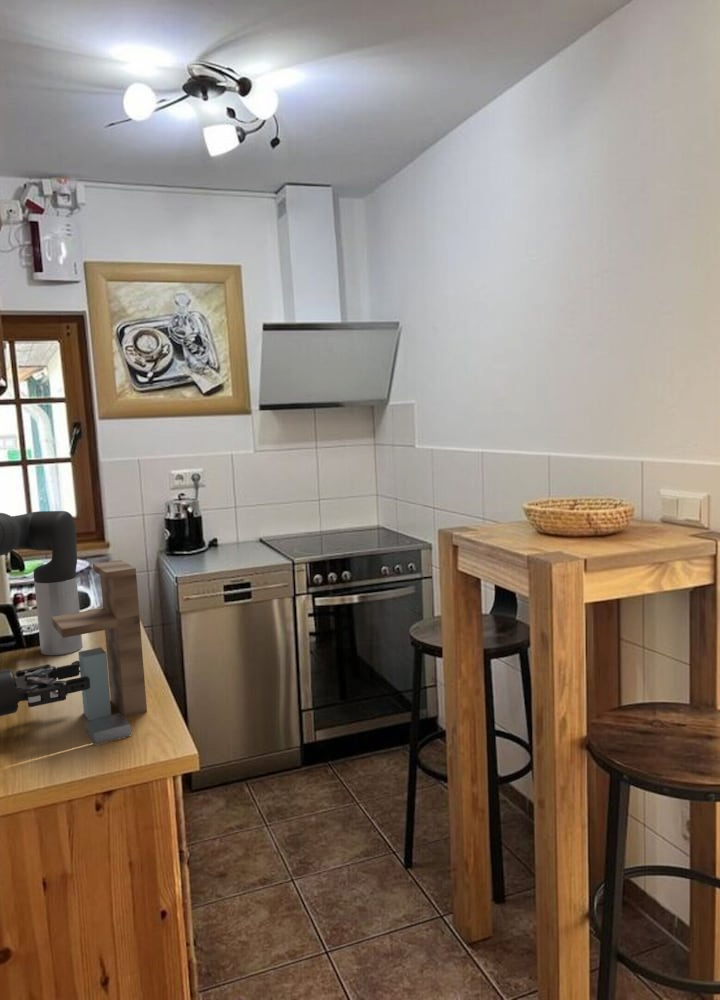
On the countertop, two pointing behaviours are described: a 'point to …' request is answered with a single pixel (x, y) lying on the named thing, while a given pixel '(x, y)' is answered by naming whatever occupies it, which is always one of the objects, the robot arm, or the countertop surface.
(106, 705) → the block
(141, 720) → the countertop surface
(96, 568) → the brown tall blocky piece
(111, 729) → the grey square block
